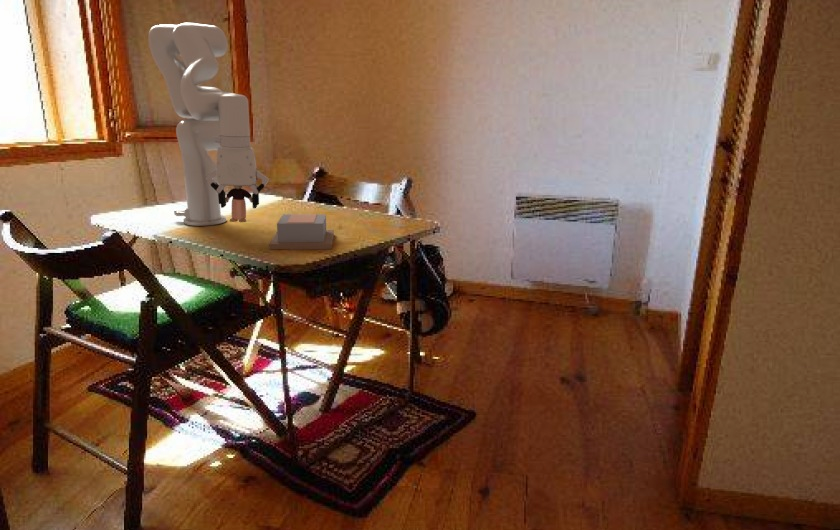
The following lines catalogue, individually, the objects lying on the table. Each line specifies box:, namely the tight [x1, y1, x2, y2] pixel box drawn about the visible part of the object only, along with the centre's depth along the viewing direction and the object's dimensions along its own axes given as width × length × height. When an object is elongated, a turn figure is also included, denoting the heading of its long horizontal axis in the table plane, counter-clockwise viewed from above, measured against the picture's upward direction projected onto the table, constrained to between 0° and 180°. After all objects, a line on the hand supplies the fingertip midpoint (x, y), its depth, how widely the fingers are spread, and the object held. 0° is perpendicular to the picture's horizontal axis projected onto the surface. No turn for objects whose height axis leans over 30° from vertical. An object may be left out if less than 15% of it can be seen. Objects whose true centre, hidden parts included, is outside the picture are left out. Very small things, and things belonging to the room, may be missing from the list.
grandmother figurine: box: [225, 186, 252, 223], centre depth 149 cm, size 8×4×13 cm, turn 107°
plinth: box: [268, 213, 335, 251], centre depth 149 cm, size 16×16×7 cm
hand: (239, 206), depth 150 cm, fingers closed on grandmother figurine, 7 cm apart
